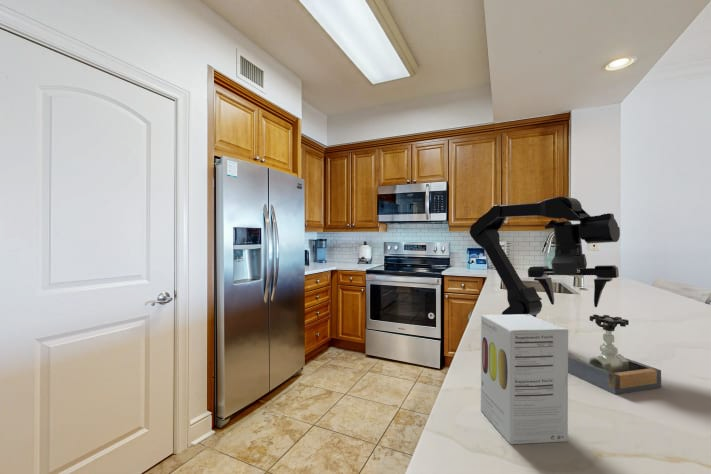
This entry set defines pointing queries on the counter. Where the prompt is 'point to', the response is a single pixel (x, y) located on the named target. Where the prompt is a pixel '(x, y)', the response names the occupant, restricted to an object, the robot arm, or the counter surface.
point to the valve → (609, 345)
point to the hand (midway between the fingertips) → (573, 305)
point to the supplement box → (525, 378)
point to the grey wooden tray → (617, 376)
